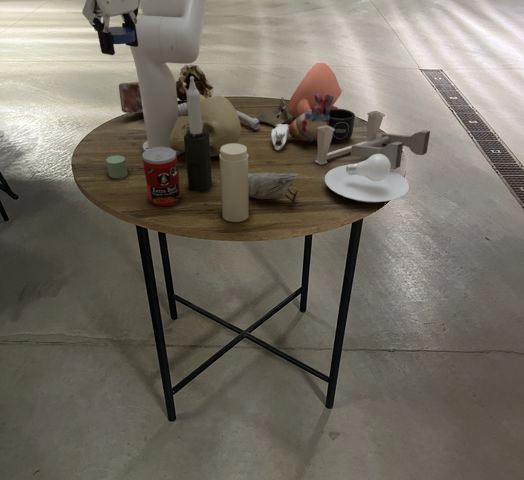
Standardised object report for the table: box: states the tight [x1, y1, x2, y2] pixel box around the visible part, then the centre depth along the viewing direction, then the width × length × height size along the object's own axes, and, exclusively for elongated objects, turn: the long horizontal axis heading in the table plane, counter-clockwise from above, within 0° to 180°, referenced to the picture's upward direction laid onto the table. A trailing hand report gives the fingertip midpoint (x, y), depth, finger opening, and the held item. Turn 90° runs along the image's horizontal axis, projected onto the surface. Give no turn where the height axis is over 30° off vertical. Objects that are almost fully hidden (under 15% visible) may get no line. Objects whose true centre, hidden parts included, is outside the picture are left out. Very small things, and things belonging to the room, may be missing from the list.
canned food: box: [141, 147, 182, 207], centre depth 112 cm, size 8×8×11 cm
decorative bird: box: [249, 172, 300, 205], centre depth 114 cm, size 5×16×8 cm, turn 77°
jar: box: [218, 143, 250, 223], centre depth 106 cm, size 6×6×15 cm
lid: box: [108, 26, 135, 45], centre depth 100 cm, size 7×7×2 cm
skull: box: [170, 95, 242, 158], centre depth 132 cm, size 14×17×20 cm
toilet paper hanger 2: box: [350, 129, 431, 170], centre depth 132 cm, size 22×13×6 cm, turn 143°
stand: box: [105, 155, 129, 179], centre depth 124 cm, size 5×5×4 cm
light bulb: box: [178, 95, 205, 117], centre depth 154 cm, size 6×6×10 cm
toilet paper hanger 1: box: [314, 110, 386, 166], centre depth 133 cm, size 23×9×4 cm
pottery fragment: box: [253, 96, 289, 128], centre depth 155 cm, size 18×11×5 cm, turn 2°
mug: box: [328, 108, 356, 143], centre depth 143 cm, size 12×9×7 cm
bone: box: [235, 109, 261, 131], centre depth 151 cm, size 18×5×4 cm
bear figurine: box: [175, 64, 214, 103], centre depth 164 cm, size 14×15×12 cm
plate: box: [324, 164, 410, 204], centre depth 120 cm, size 21×21×2 cm
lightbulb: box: [346, 154, 392, 181], centre depth 118 cm, size 6×6×11 cm
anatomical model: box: [288, 94, 333, 143], centre depth 137 cm, size 10×9×15 cm
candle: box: [184, 76, 213, 193], centre depth 112 cm, size 5×5×25 cm
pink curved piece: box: [287, 62, 343, 119], centre depth 149 cm, size 25×17×13 cm
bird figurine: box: [270, 123, 290, 151], centre depth 140 cm, size 5×7×10 cm
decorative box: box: [118, 81, 177, 114], centre depth 154 cm, size 13×20×10 cm
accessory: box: [287, 136, 318, 148], centre depth 143 cm, size 9×9×1 cm
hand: (120, 49), depth 101 cm, fingers closed on lid, 6 cm apart
